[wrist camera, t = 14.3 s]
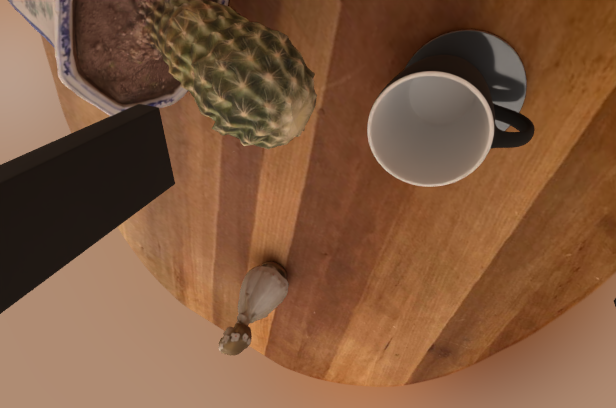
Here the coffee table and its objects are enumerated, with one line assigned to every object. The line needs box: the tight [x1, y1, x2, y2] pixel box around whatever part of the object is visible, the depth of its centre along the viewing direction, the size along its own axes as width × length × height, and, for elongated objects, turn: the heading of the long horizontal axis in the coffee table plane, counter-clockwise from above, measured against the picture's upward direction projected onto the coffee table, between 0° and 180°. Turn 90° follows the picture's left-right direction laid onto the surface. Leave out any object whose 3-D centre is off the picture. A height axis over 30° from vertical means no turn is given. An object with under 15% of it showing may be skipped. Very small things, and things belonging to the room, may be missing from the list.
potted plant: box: [8, 0, 317, 149], centre depth 33 cm, size 18×18×30 cm
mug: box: [367, 55, 534, 187], centre depth 31 cm, size 12×9×10 cm
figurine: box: [219, 262, 289, 355], centre depth 54 cm, size 8×7×15 cm
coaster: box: [404, 29, 527, 131], centre depth 35 cm, size 11×11×1 cm
